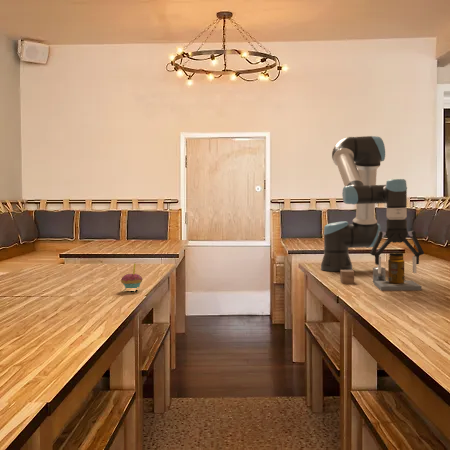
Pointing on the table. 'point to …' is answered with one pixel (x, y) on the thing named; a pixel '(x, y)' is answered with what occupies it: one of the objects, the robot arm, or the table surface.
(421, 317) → the table surface
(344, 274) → the walnut block
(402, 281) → the condiment
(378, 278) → the metal canister
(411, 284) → the board
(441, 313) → the table surface
